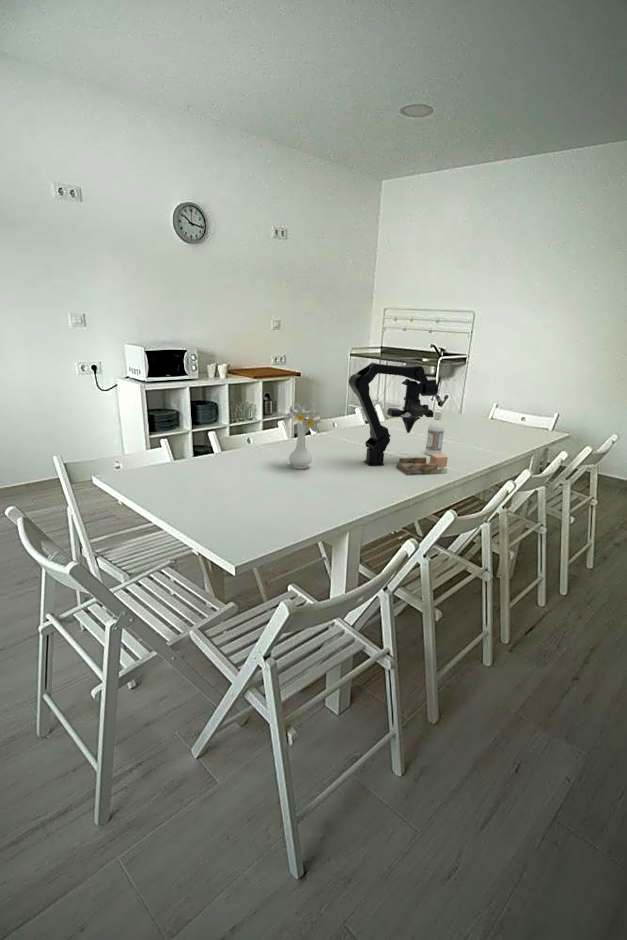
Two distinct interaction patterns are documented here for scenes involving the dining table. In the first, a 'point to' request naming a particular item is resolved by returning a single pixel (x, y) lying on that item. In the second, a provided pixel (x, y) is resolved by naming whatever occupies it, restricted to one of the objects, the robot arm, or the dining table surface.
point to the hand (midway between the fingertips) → (408, 432)
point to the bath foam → (435, 435)
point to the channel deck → (419, 466)
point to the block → (438, 460)
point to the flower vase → (302, 434)
